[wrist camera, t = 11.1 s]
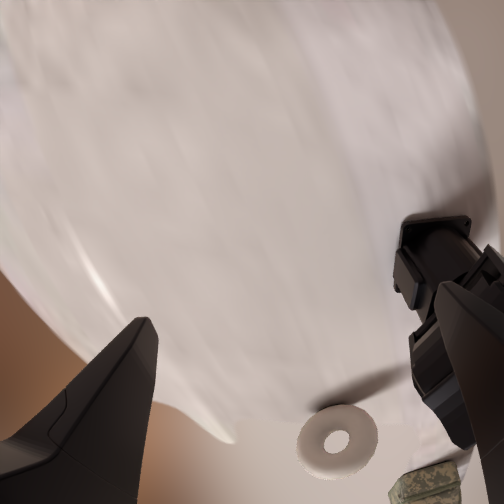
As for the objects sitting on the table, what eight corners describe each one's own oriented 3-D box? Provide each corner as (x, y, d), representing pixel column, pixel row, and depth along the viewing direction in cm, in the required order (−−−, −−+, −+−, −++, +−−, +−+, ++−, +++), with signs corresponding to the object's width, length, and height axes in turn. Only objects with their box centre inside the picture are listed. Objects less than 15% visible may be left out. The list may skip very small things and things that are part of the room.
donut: (366, 388, 34) (382, 463, 25) (372, 399, 35) (387, 469, 27) (289, 413, 36) (293, 485, 28) (300, 422, 38) (304, 490, 30)
